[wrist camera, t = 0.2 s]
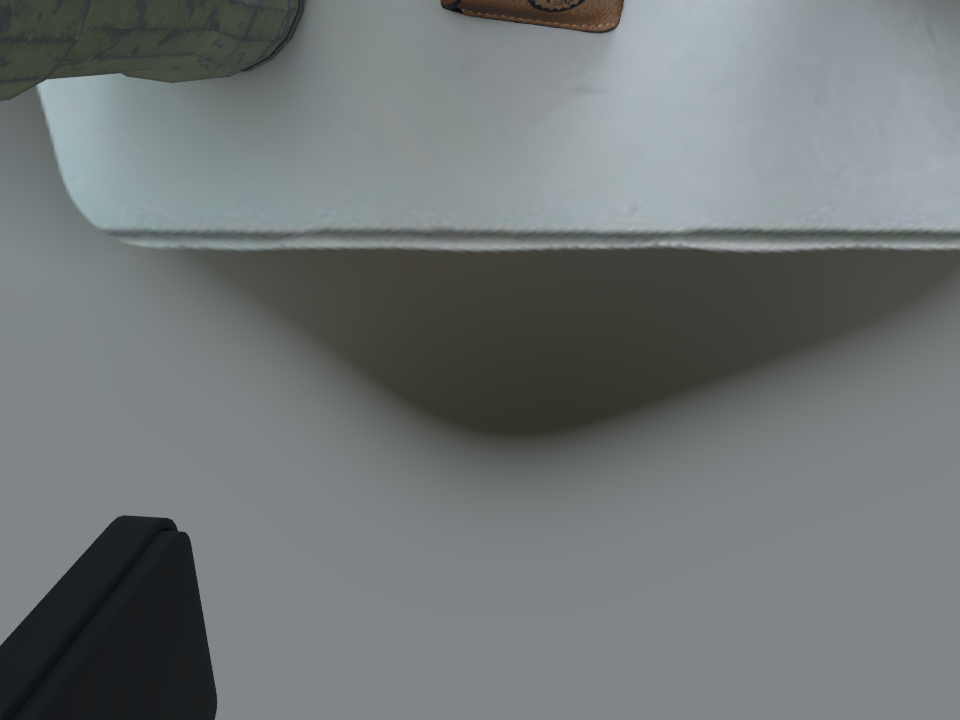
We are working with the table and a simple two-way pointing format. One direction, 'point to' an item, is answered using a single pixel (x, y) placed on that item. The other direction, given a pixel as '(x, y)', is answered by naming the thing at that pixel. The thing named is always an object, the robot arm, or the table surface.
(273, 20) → the thermos
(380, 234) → the table surface
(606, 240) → the table surface
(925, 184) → the table surface
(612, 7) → the sunglasses case
